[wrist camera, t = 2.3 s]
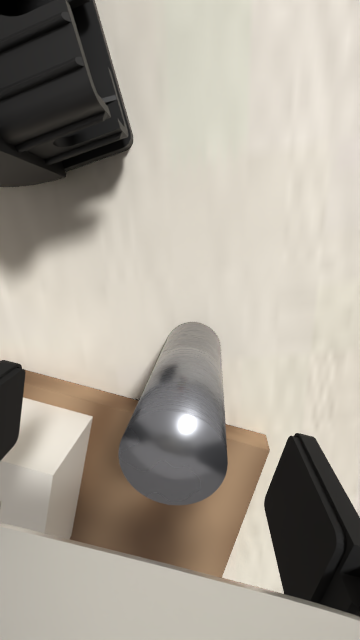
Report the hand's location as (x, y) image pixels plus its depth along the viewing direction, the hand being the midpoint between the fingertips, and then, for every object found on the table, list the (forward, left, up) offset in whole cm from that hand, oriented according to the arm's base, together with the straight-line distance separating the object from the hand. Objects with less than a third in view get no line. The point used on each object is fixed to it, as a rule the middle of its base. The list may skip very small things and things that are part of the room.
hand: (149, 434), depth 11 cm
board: (+4, +10, -9) cm, 14 cm away
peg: (-1, 0, -9) cm, 9 cm away
